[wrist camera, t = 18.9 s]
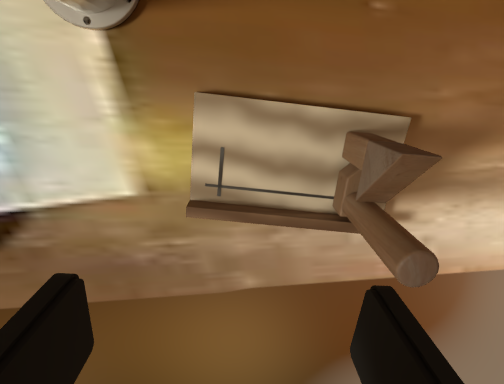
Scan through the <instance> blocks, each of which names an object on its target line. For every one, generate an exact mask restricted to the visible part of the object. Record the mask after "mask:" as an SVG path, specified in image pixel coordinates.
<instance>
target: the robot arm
mask: <svg viewBox="0 0 504 384" xmlns="http://www.w3.org/2000/svg"><path fill="white" fill-rule="evenodd" d="M43 1H44V2H45V3H46V4H47V5H48V6H49V7H50V8H51V9H52V10H53V11H54V12H55V13H56V14H57V15H58V16H60V17H61V18H63V19H64V20H66V21H68V22H70V23H72V24H74V25H76V26H79V27H82V28H85V29H90V30H105V29H109V28H113V27H115V26H117V25H119V24H121V23H122V22H123V21H125V20H126V19H127V18H128V17H129V16H130V15H131V13H132V12H133V11H134V9H135V8H136V5H137V3H138V1H139V0H131V2H130V3H129V0H43ZM90 20H91V23H89V21H90ZM93 344H94V338H93V332H92V327H91V321H90V315H89V309H88V303H87V297H86V291H85V285H84V281H83V279H79V276H78V275H77V274H66V273H56V274H54V275H53V276H52V277H51V278H50V279H49V280H48V281H47V282H46V283H45V284H44V285H43V286H42V287H41V288H40V289H39V290H38V291H37V292H36V293H35V294H34V295H33V296H32V297H31V298H30V299H29V300H28V301H27V302H26V303H25V304H24V305H23V306H22V308H21V309H20V310H19V311H18V312H17V313H16V314H15V315H14V316H13V317H12V318H11V319H10V320H9V321H8V322H7V323H6V324H5V325H4V326H3V327H2V328H1V329H0V384H74V382H75V381H76V379H77V377H78V375H79V373H80V372H81V370H82V368H83V366H84V364H85V363H86V361H87V359H88V357H89V355H90V354H91V351H92V349H93ZM350 353H351V358H352V360H353V363H354V365H355V368H356V370H357V373H358V375H359V377H360V380H361V383H362V384H464V383H463V382H462V380H461V379H460V378H459V376H458V375H457V373H456V372H455V371H454V370H453V368H452V367H451V365H450V364H449V363H448V361H447V360H446V359H445V357H444V356H443V355H442V353H441V352H440V351H439V349H438V348H437V347H436V345H435V344H434V343H433V341H432V340H431V338H430V337H429V336H428V335H427V333H426V332H425V330H424V329H423V328H422V327H421V325H420V324H419V323H418V321H417V320H416V318H415V317H414V316H413V314H412V313H411V312H410V310H409V309H408V308H407V306H406V305H405V304H404V302H403V301H402V300H401V298H400V297H399V295H398V294H397V293H396V291H395V290H394V289H393V288H392V287H391V286H376V285H375V286H372V287H371V289H370V290H367V291H366V293H365V297H364V300H363V304H362V307H361V311H360V314H359V318H358V321H357V325H356V329H355V332H354V336H353V339H352V343H351V347H350Z"/></svg>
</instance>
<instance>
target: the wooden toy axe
mask: <svg viewBox="0 0 504 384" xmlns="http://www.w3.org/2000/svg"><path fill="white" fill-rule="evenodd" d="M342 158H344V159H345V160H347V161H348V162H350V163H349V164H348V165H347V166H345V167H344V168H343V169H341V170H340V171H339V174H338V180H337V185H336V190H335V195H334V200H333V205H332V206H333V208H334V209H335V211H336V212H337V213H338V215H339V216H342V217H348V219H349V220H350V221H351V222H352V224H353V225H354V226H355V227H356V229H357V230H358V231H359V232H360V234H361V235H362V236H363V237H364V239H365V240H366V241H367V242H368V244H369V245H370V246H371V247H372V249H373V250H374V251H375V252H376V254H377V255H378V256H379V258H380V259H381V260H382V261H383V263H384V264H385V265H386V266H387V268H388V269H389V270H390V271H391V273H392V274H393V275H394V276H395V278H396V279H397V280H398V281H399V282H400V283H401V284H403V285H405V286H408V287H420V286H423V285H426V284H427V283H429V282H430V281H431V280H433V278H435V276H436V274H437V273H438V269H439V263H438V259H437V257H436V256H435V255H434V253H432V252H431V251H430V250H429V249H428V248H427V247H425V246H424V245H423V244H422V243H421V242H420V241H419V240H417V239H416V238H415V237H414V236H413V235H412V234H410V233H409V232H408V231H407V230H406V229H405V228H404V227H402V226H401V225H400V224H399V223H398V222H397V221H396V220H394V219H393V218H392V217H391V216H390V215H389V214H387V213H386V212H385V211H384V210H383V209H382V208H381V207H379V206H378V205H377V204H376V203H386V202H387V201H388V200H390V199H391V198H392V197H394V196H395V195H396V194H397V193H399V192H400V191H401V190H402V189H404V188H405V187H406V186H408V185H409V184H410V183H411V182H413V181H414V180H415V179H416V178H418V177H419V176H420V175H421V174H423V173H424V172H425V171H427V170H428V169H429V168H430V167H432V166H433V165H434V164H435V163H437V162H438V161H439V160H441V159H442V157H441V156H439V155H436V154H433V153H430V152H427V151H424V150H421V149H418V148H415V147H412V146H409V145H406V144H402V143H398V142H396V141H393V140H390V139H387V138H384V137H381V136H378V135H375V134H372V133H363V132H351V131H349V132H347V134H346V138H345V143H344V148H343V153H342ZM375 202H376V203H375Z"/></svg>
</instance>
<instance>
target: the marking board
mask: <svg viewBox="0 0 504 384" xmlns="http://www.w3.org/2000/svg"><path fill="white" fill-rule="evenodd" d="M410 121H411V118H410V117H403V116H395V115H386V114H378V113H370V112H361V111H353V110H344V109H336V108H327V107H319V106H310V105H302V104H293V103H285V102H276V101H268V100H259V99H251V98H242V97H234V96H225V95H217V94H209V93H200V92H195V93H194V117H193V142H192V166H191V191H190V201H189V203H188V205H187V207H186V217H192V218H203V219H213V220H223V221H234V222H244V223H255V224H265V225H275V226H286V227H296V228H307V229H317V230H327V231H338V232H348V233H359V234H360V232H359V231H358V230H357V229H356V227H355V226H354V225H353V224H352V222H351V221H350V220H349V219H348V217H342V216H339V215H338V213H337V212H336V211H335V209H334V208H333V206H332V205H333V200H334V195H335V190H336V185H337V180H338V174H339V171H340V170H341V169H343V168H344V167H345V166H347V165H348V164H349V163H350V162H348V161H347V160H345V159H344V158H342V153H343V148H344V143H345V138H346V134H347V132H349V131H351V132H363V133H372V134H375V135H378V136H381V137H384V138H387V139H390V140H393V141H396V142H398V143H402V144H404V141H405V138H406V134H407V131H408V127H409V124H410ZM375 203H376V202H375ZM376 204H377V205H378V206H379V207H381V208H382V209H383V210H384V209H385V206H386V203H376Z"/></svg>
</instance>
